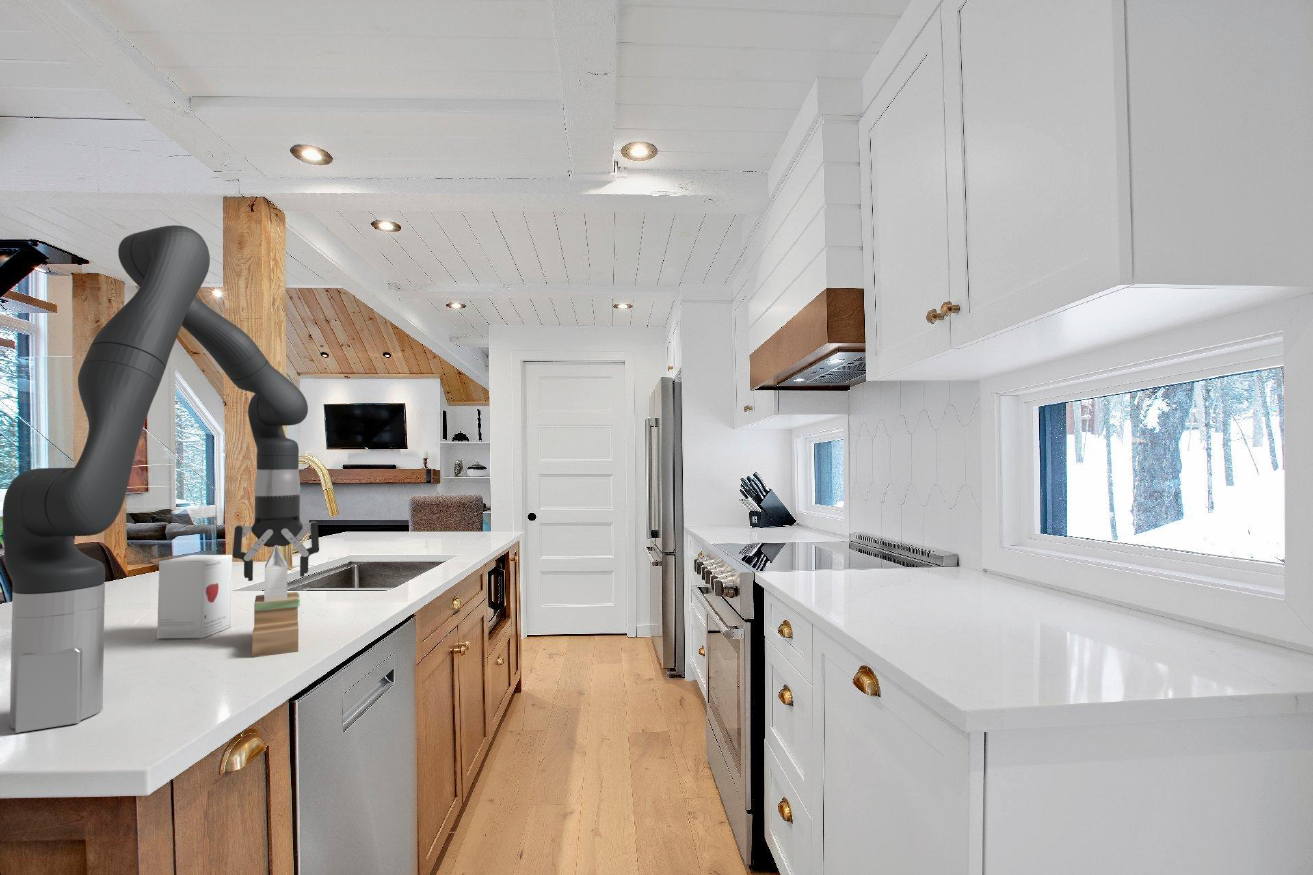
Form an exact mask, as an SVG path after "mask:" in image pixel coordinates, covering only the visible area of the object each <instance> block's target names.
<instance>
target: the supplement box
mask: <svg viewBox="0 0 1313 875" xmlns="http://www.w3.org/2000/svg"><path fill="white" fill-rule="evenodd" d="M158 565H159V567H158V589H157V590H158V593H157V594H158V598H157V601H158V602H157V628H156V629H157V632H156V639H203V638H207V637H209V636H211V635H214V634H216V633H220V632H222V631H225V630H228V629H230V628H232V582H233V580H232V579H233V578H232V577H233V576H232V575H233V574H232V572H233V554H190V555H185V556H180V557H176V558H171V559H165V560H161V561H159V564H158Z"/></svg>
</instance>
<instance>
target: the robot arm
mask: <svg viewBox="0 0 1313 875" xmlns="http://www.w3.org/2000/svg"><path fill="white" fill-rule="evenodd" d="M117 253H118V255H117V256H118V259H119V262H120V265H121V267H122V268H123V270H124V271H125V273H126V274H127V275H128V277H130V279H131V280H132V281H133V282H134V283H135V284H136V285H137V286H138V287H139V289H138V290H137V292H136V293H134V295H133V296H132V297H131V298H130V300H129V301H127V302H126V303H125V305H123V306H122V307H121V308H120V309H119V310H118V311H117V312H116V313H115V314H114V315H113V316H112V317H111V318H110V319H109V321H107V322H106V323H105V324H104V326H102V328H101V329H100V330H99V331H98V333H97V334H96V335H95V336H94V338H93V340H92V342H91V343H90V345H89V348H88V351H87V353H86V354H85V357H84V359H83V362H82V365H81V367H80V369H79V372H78V376H77V387H78V393H79V396H80V401H81V402H82V405H83V409H84V411H85V414H86V417H87V421H88V433H87V438H86V440H85V444H84V447H83V450H82V452H81V455H80V456H79V459H78V461H77V463H76V464H75V466H74V467H43V468H32V469H29V470H26V471H23V472H22V473H20V474H18V475H17V476H16V477H14V479H13V480H12V481H11V482H10V484H9V486H8V487H7V490H6V492H5V494H4V499H3V504H2V533H3V535H2V536H3V551H4V552H3V555H4V564H5V568H6V572H7V573H8V575H9V577H10V579H11V581H12V582H11V583H12V602H11V603H12V604H11V605H12V606H11V607H12V609H11V612H12V613H11V637H10V640H11V643H10V646H11V648H10V682H9V683H10V690H9V691H10V692H9V696H10V697H9V727H10V729H13V730H14V732H15V733H16V734H17V733H21V732H22V733H23V732H24V733H25V732H29V731H35V730H42V729H47V728H48V729H49V728H55V727H61V726H69V725H73V724H78V723H80V722H81V721H82V720H84V719H85V720H86V719H87V718H90V717H91V716H94V715H96V714H98V713H99V712H101V711H102V709H103V708H104V705H103V704H104V662H105V661H104V656H105V653H104V652H105V650H104V649H105V647H104V646H105V603H106V599H105V598H106V595H105V594H106V568H105V564H104V563H103V562H101V561H100V560H98V559H95V558H94V557H90V556H89V555H87V554H85V553H84V552H82V551H80V550H79V548H78V547H77V546H76V544H75V540H74V537H90V536H95V535H96V536H97V535H99V534H102V533H103V532H104V531H106V530H108V529H109V528H110V527H111V526H112V525H113V524H114V523H115V521H116V519H117V517H118V516H119V514H120V512H121V509H122V507H123V505H124V501H125V499H126V494H127V489H128V487H129V481H130V477H131V473H132V471H133V470H132V469H133V466H134V460H135V456H136V454H137V449H138V445H139V443H140V438H141V435H142V432H143V430H144V427H145V423H146V420H147V419H148V418H147V417H148V415H149V411H150V409H151V406H152V404H153V401H154V399H155V397H156V394H157V392H158V390H159V387H160V384H161V382H162V379H163V376H164V374H165V371H166V368H167V366H168V361H169V358H170V356H171V353H172V351H173V348H174V346H175V343H176V340H177V338H178V335H179V334H180V333H179V332H180V330H181V328H184V329H185V330H186V331H187V332H188V333H189V334H190V335H191V336H192V337H193V338H194V339H195V340H196V341H197V342H198V343H199V344H200V345H201V346H202V347H203V348H204V349H205V350H206V351H207V352H208V354H209V355H210V356H211V357H212V359H213V360H214V362H216V363H217V365H218V366H219V367H220V368H221V370H222V371H223V372H224V373H225V375H226V376H227V377H228V379H229V380H230V381H231V382H232V383H233V385H235V386H236V387H237V389H240V390H242V391H244V392H245V391H246V392H248V393H253V396H252V397H251V399H250V400H249V404H248V407H247V416H248V421H249V426H250V429H251V433H252V437H253V439H254V444H255V446H256V473H255V474H256V475H255V480H254V519H253V520H254V522H253V524H252V525H242V524H237V525H236V526H235V528H234V533H233V544H232V545H233V546H232V558H234V559H238V560H242V562H243V577H244V578H245V579H247V581H248V582H252V581H253V579H254V577H253V576H254V559H253V558H254V556H255V555H256V554H257V553H258V552H259V550H260V549H262V547H263V546H264V547H267V548H274V546H275V545H277V546H278V547H287V546H289V545H292V546H293V548H295V550H296V551H297V552H298V553H300V556H299V578H303V577H305V574H308V572H309V557H310V556H311V555H314V554H317V553H319V551H320V541H319V538H320V537H319V525H318V522H316V521H311V522H307V523H306V522H305V523H304V522H303V523H302V522H301V518H300V516H301V513H300V511H301V502H300V501H301V496H300V495H301V478H300V471H299V468H300V467H299V466H300V465H299V462H300V461H299V459H300V457H299V456H300V455H299V452H300V449H299V443H298V442H297V441H296V440H294V439H292V438H287V437H286V434H285V430H284V426H285V427H287V426H288V427H289V426H296V425H299V424H300V423H302V422H303V421H305V419H306V418H307V416H308V413H309V412H308V411H309V406H308V401H307V399H306V397H305V396H304V394H303V392H302V391H301V390H300V389H299V387H297V385H295V384H294V383H293V382H292V381H291V380H290V379H288V378H287V377H286V376H285V375H284V374H282V372H280V371H279V370H278V369H276V368H275V367H274V366H272V364H271V363H270V361H269V360H268V358H267V357H266V356H265V355H264V353H263V352H262V351H261V349H260V348H259V346H258V345H257V344H256V342H255V341H254V340H253V339H252V338H251V337H250V336H249V335H248V334H247V333H246V332H245V331H244V330H242V329H241V328H240V327H239V326H237V324H234V323H233V322H232V321H230V320H229V319H227V318H226V317H223V316H222V315H221V314H220V313H218V312H216V311H215V310H214V309H212V308H211V307H209V305H207V304H206V303H205V302H203V301H202V300H201V299H200V298H199V297H198V296H197V294H198V293H199V291H200V289H201V287H202V285H203V283H204V282H205V280H206V277H207V275H208V273H209V269H210V265H211V264H210V262H211V255H210V250H209V247H208V244H207V243H206V241H205V240H204V237H203V236H202V235H201V234H199V233H198V231H196V230H195V229H193V228H191V227H189V226H183V225H175V224H174V225H164V226H158V227H155V228H149V229H147V230H143V231H139V232H135V233H131V234H129V235H126V236H125V237H124V238H122V240H121V241H120V243H119V245H118V250H117ZM303 529H304V530H305V532H306V534H309V535H310V540H311V541H310V542H311V543H310V544H311V546H310V547H308V548H306V547H305V545H303V543H302V542H301V540H299V539H298V537H297V536H298V535H299V534H300V533H301V531H303ZM250 532H251V533H252V534H253V535H254V537H256V539H257V540H256V541H255V542H254V543H253V544H252V546H251V547H250V548H249V550H248V551H247V552H244V551H242V544H243V538H246V537H247V536H248V533H250Z"/></svg>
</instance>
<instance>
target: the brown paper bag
mask: <svg viewBox="0 0 1313 875" xmlns="http://www.w3.org/2000/svg"><path fill="white" fill-rule="evenodd" d="M300 600H301V599H300V592H298V591H290V592H288V591H287V600H277V601H266V602H264V594H259V595H255V599H254V602H253V603H254V605H253V606H254V607H253V608H254V610H253V618H254V619H253V620H254V621H253V630H252V639H251V640H252V642H251V643H252V644H251V645H252V647H251V648H252V649H251V650H252V652H251V654H252V655H251V657H252V658H259V657H264V656H266V657H267V656H273V655H280V654H287V653H296V652H299V614H298V613H299V607H300V605H301V601H300Z"/></svg>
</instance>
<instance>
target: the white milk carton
mask: <svg viewBox="0 0 1313 875" xmlns="http://www.w3.org/2000/svg"><path fill="white" fill-rule="evenodd" d="M263 588H264V590H263V592H264V594H263V595H264V602H266V601H277V600H287V593H288V562H287V560H286V558H285V556H284V555H283V553H282V551H281V550H280V546H277V545H275V546H274V547H273V549H272V552H271V553H270V555H269V557H268V559H267V561H266V563H265V565H264V586H263Z"/></svg>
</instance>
